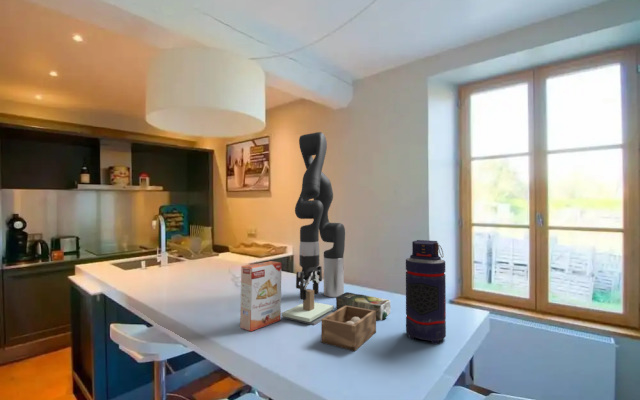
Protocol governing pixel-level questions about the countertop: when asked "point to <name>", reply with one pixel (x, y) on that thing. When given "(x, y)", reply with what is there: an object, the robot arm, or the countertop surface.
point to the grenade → (425, 292)
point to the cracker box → (260, 295)
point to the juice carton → (365, 303)
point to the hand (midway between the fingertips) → (309, 296)
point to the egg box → (348, 327)
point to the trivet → (313, 320)
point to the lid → (308, 309)
